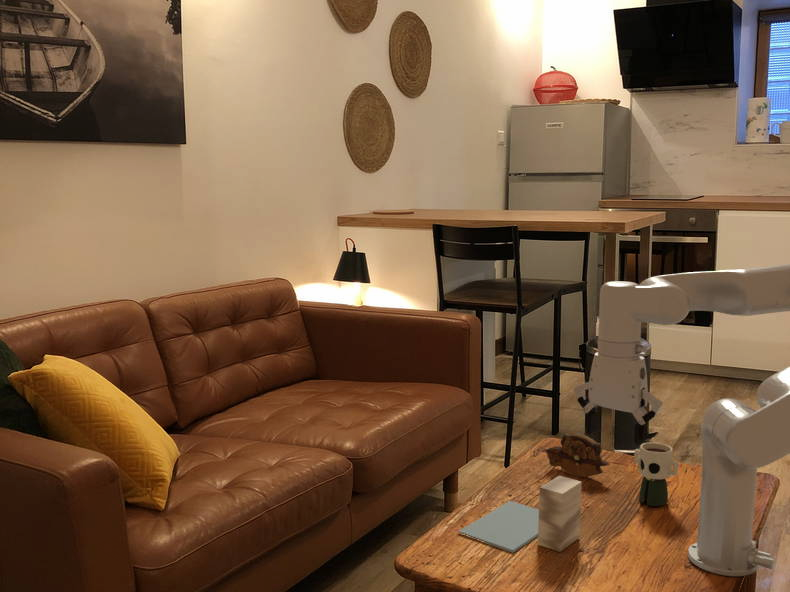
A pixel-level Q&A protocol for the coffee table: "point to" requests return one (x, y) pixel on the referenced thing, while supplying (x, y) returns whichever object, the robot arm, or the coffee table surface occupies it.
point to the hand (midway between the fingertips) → (615, 437)
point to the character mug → (655, 471)
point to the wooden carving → (577, 456)
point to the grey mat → (506, 526)
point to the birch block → (559, 513)
